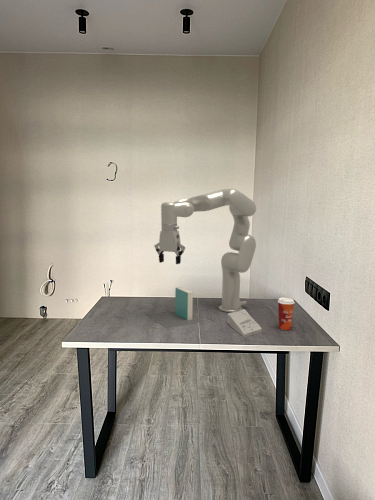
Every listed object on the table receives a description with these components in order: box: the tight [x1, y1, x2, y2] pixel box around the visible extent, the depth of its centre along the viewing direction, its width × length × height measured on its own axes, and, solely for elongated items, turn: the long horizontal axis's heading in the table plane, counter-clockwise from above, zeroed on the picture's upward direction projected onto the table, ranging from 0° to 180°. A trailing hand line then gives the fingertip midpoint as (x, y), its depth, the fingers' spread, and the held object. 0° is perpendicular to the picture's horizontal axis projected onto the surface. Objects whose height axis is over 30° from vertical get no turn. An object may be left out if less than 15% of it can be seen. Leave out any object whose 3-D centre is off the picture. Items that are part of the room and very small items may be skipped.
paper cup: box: [277, 297, 295, 331], centre depth 177 cm, size 8×8×14 cm
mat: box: [146, 310, 206, 329], centre depth 189 cm, size 22×22×1 cm
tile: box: [174, 286, 194, 320], centre depth 191 cm, size 3×12×14 cm, turn 31°
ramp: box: [226, 308, 263, 338], centre depth 179 cm, size 28×16×5 cm, turn 175°
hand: (169, 262), depth 184 cm, fingers open, 9 cm apart
